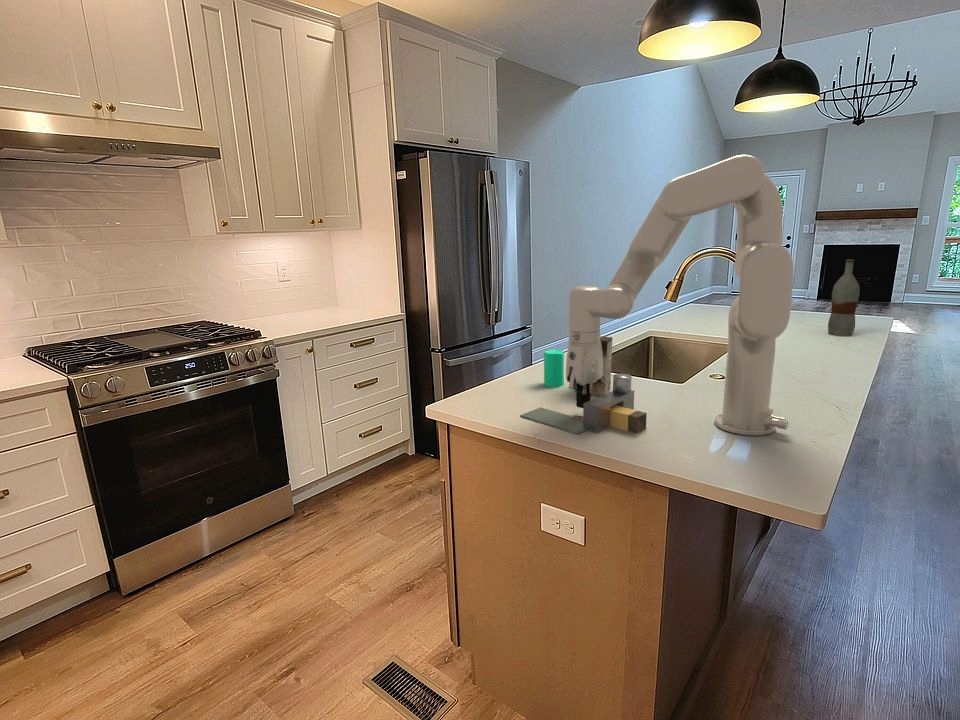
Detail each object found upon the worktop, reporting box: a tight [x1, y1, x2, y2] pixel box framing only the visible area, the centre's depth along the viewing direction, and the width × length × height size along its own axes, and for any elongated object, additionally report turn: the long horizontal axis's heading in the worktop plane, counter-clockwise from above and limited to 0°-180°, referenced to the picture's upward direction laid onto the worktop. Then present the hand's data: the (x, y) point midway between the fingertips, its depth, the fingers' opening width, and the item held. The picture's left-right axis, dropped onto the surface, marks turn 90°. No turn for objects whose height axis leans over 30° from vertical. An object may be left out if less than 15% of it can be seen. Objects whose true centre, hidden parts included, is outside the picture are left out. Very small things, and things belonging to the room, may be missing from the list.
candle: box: [543, 349, 565, 388], centre depth 158 cm, size 6×6×12 cm
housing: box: [582, 373, 635, 434], centre depth 126 cm, size 4×16×10 cm, turn 134°
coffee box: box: [590, 335, 613, 396], centre depth 149 cm, size 9×6×16 cm
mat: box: [520, 407, 588, 435], centre depth 129 cm, size 18×8×1 cm, turn 43°
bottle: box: [827, 259, 861, 337], centre depth 207 cm, size 9×9×30 cm
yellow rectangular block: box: [609, 405, 648, 435], centre depth 126 cm, size 15×4×4 cm, turn 43°
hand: (583, 406), depth 132 cm, fingers closed
